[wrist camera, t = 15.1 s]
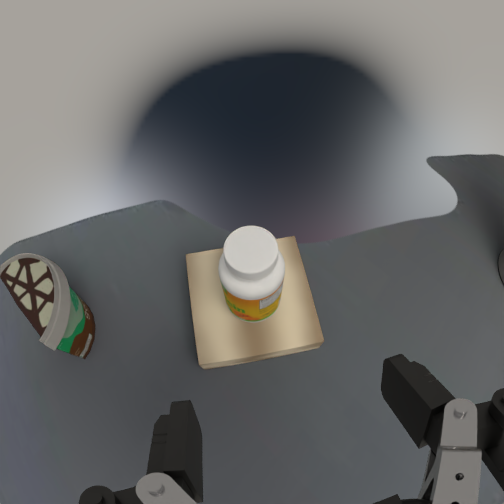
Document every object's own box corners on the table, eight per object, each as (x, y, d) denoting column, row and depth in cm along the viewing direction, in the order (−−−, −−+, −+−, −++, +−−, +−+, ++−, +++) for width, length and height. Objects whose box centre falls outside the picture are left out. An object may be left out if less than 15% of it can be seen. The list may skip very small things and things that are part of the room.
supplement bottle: (215, 294, 31) (198, 244, 23) (256, 263, 33) (255, 205, 25) (249, 334, 29) (245, 297, 21) (291, 300, 31) (303, 251, 23)
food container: (124, 327, 33) (82, 293, 24) (93, 367, 30) (42, 345, 22) (66, 270, 36) (25, 229, 28) (38, 304, 34) (-8, 270, 25)
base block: (291, 249, 37) (294, 235, 35) (318, 347, 31) (324, 340, 29) (190, 267, 36) (185, 254, 34) (204, 369, 31) (198, 364, 28)
